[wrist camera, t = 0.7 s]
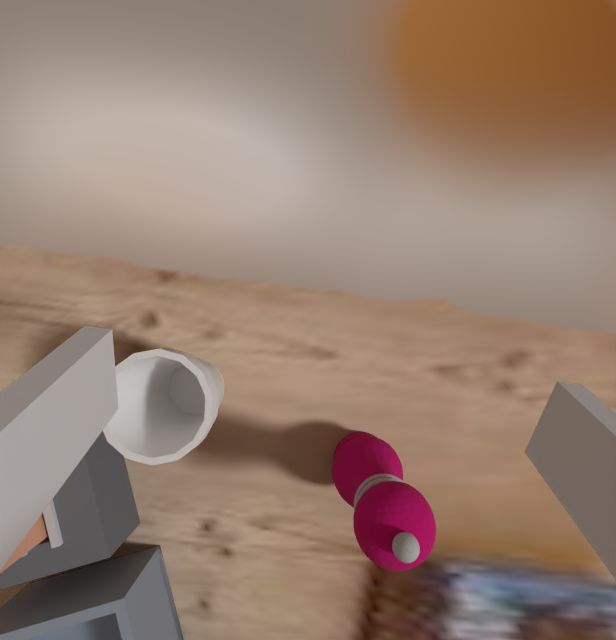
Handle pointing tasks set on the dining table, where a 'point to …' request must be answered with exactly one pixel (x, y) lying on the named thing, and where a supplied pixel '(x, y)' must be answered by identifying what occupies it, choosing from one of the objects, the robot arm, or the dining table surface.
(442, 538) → the dining table surface
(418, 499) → the pepper mill
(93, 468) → the dispenser
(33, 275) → the dining table surface
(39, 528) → the terracotta flat slab
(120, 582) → the bin
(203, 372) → the foam cup
